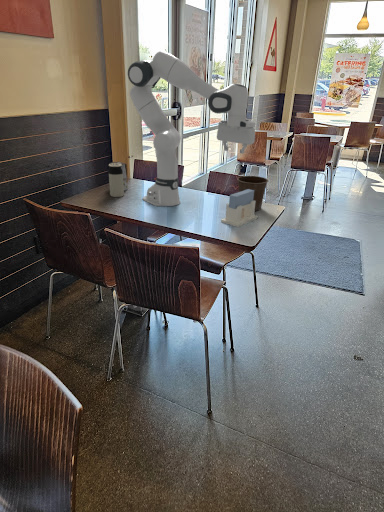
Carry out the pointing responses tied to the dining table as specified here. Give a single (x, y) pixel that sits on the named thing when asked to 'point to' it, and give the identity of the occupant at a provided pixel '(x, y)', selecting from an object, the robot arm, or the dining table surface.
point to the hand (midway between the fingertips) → (233, 151)
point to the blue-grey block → (241, 198)
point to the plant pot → (253, 187)
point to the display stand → (240, 214)
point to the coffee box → (124, 174)
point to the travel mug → (116, 180)
